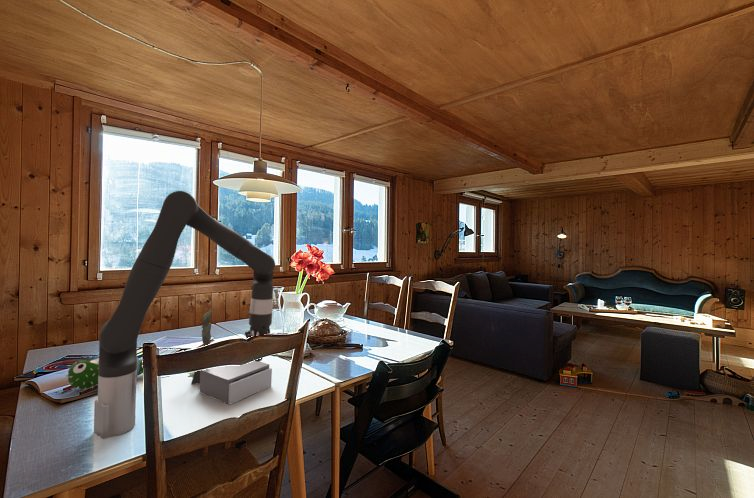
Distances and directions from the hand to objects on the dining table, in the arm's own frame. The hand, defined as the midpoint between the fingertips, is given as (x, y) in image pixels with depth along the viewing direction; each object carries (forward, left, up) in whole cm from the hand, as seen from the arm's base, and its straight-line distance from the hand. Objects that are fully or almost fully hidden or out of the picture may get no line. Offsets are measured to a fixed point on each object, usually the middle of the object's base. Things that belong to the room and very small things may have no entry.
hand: (257, 360), depth 121 cm
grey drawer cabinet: (+5, +18, -16) cm, 25 cm away
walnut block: (+5, +13, -15) cm, 20 cm away
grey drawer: (+5, +16, -16) cm, 23 cm away
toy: (-17, +59, -17) cm, 64 cm away
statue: (+3, +35, -17) cm, 39 cm away
